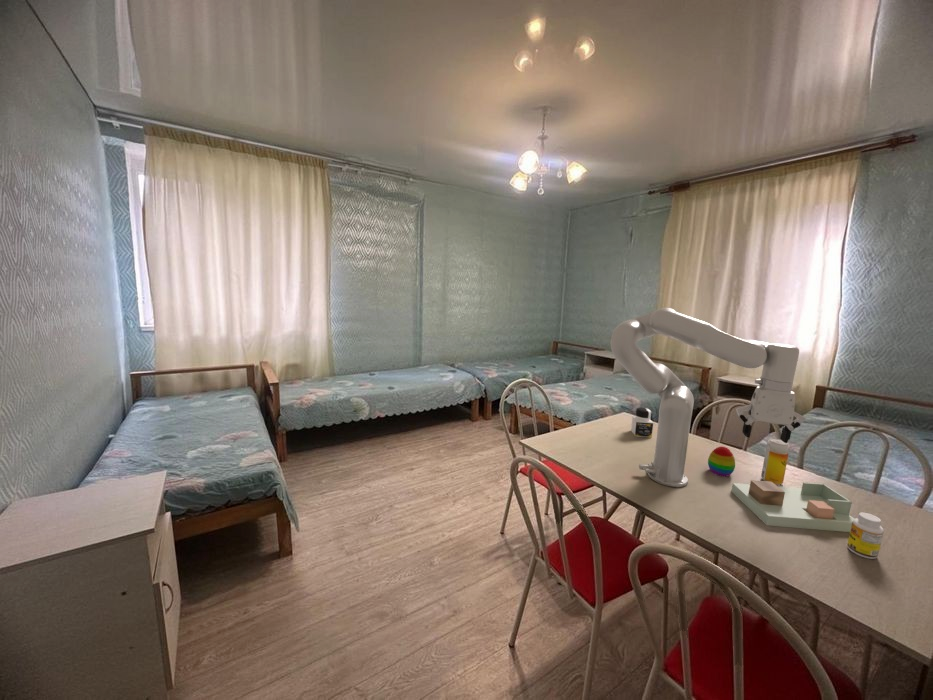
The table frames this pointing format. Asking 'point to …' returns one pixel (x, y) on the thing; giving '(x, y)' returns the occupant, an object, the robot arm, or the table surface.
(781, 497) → the walnut block
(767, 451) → the pill bottle
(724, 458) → the decorative egg
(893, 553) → the table surface
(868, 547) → the supplement bottle
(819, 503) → the terracotta block
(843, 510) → the board
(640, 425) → the medicine bottle
